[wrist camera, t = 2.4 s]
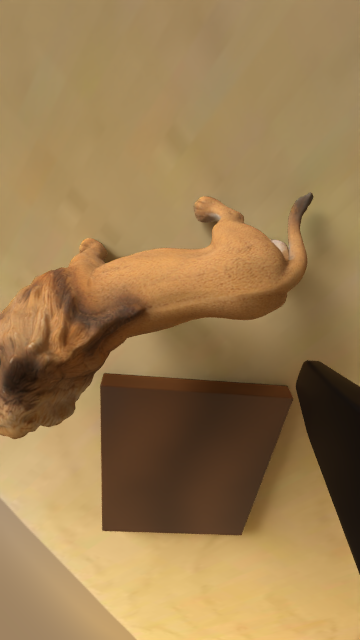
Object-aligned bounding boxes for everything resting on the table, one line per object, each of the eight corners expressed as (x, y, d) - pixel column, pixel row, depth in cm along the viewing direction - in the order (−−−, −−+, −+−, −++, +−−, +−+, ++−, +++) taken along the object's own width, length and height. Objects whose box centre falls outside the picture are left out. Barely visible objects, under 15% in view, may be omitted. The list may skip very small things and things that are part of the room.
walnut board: (287, 385, 21) (294, 398, 20) (239, 521, 29) (241, 535, 28) (103, 372, 20) (100, 385, 19) (104, 516, 28) (102, 531, 27)
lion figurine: (75, 344, 19) (9, 487, 11) (17, 267, 17) (-120, 382, 9) (319, 240, 16) (457, 333, 8) (292, 130, 14) (450, 118, 6)
